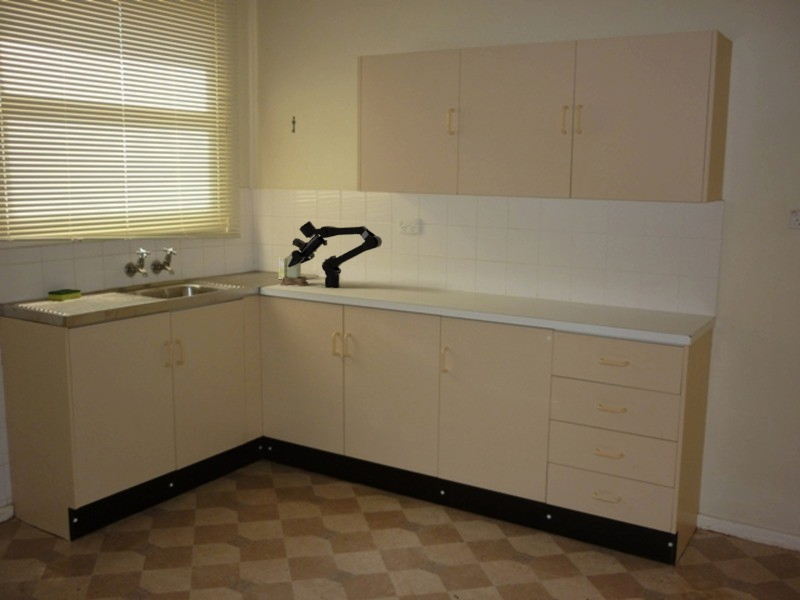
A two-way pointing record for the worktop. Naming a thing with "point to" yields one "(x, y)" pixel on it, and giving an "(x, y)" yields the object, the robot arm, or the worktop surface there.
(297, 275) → the tin
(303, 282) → the brown wooden frame
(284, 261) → the box
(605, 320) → the worktop surface
